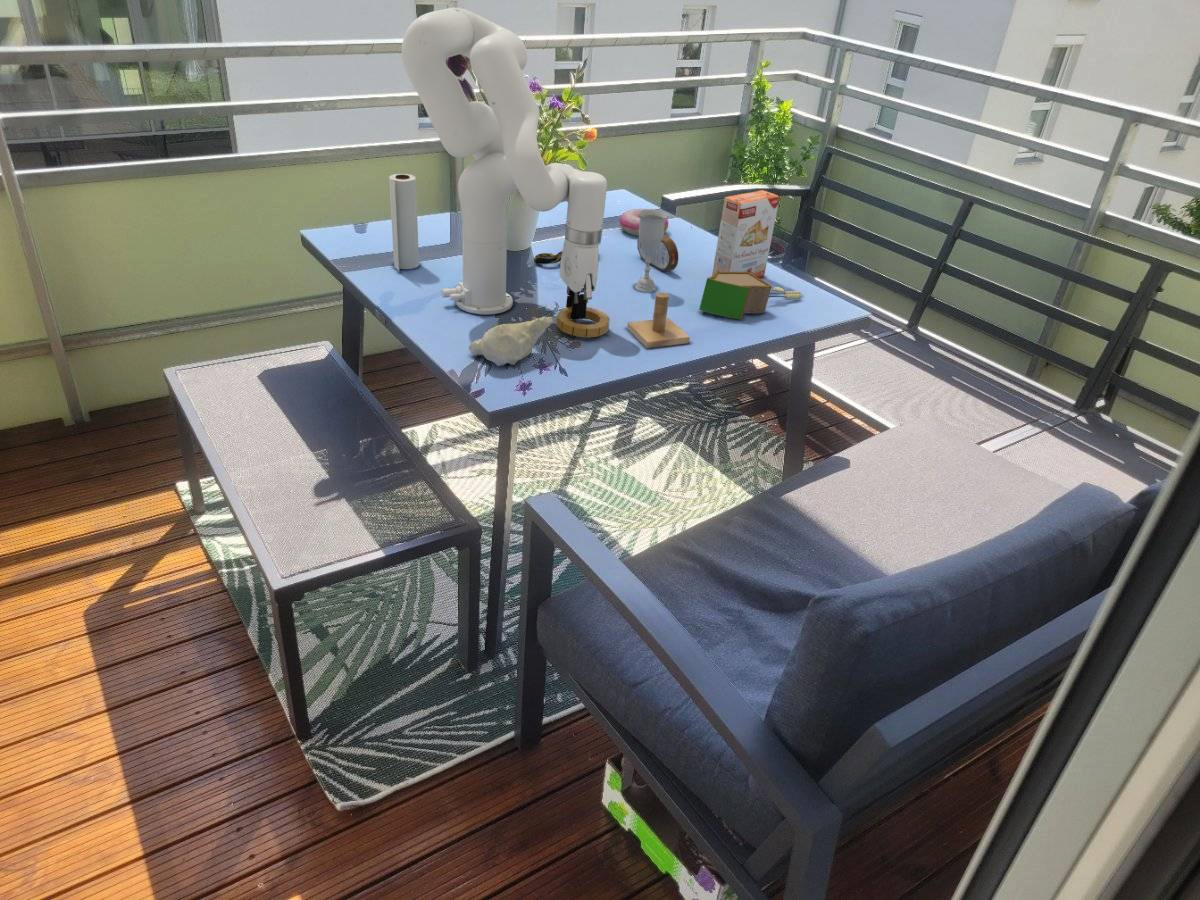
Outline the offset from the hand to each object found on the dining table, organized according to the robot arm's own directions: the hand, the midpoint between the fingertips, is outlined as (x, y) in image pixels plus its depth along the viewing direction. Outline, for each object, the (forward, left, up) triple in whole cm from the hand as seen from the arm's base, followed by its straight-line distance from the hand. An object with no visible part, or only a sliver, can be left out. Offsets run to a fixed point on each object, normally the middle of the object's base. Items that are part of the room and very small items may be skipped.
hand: (575, 315), depth 197 cm
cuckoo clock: (+44, -2, -2) cm, 44 cm away
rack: (+15, -11, -2) cm, 19 cm away
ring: (0, -4, -1) cm, 4 cm away
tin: (+33, +27, -2) cm, 42 cm away
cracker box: (+50, +14, -2) cm, 52 cm away
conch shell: (-18, -12, -2) cm, 22 cm away
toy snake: (+12, +36, -2) cm, 38 cm away
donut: (+41, +51, -2) cm, 65 cm away
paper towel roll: (-28, +40, -2) cm, 49 cm away
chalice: (+24, +14, -2) cm, 28 cm away
